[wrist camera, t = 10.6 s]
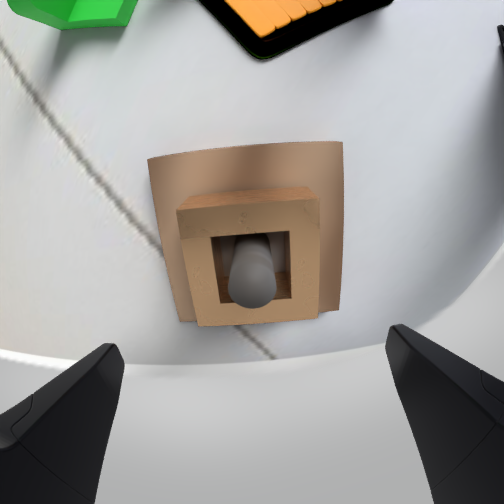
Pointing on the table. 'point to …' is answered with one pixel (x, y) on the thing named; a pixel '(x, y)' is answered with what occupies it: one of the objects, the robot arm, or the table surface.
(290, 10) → the toy room diorama
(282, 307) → the wooden collar
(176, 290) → the post stand
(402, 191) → the table surface
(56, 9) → the mechanical part
